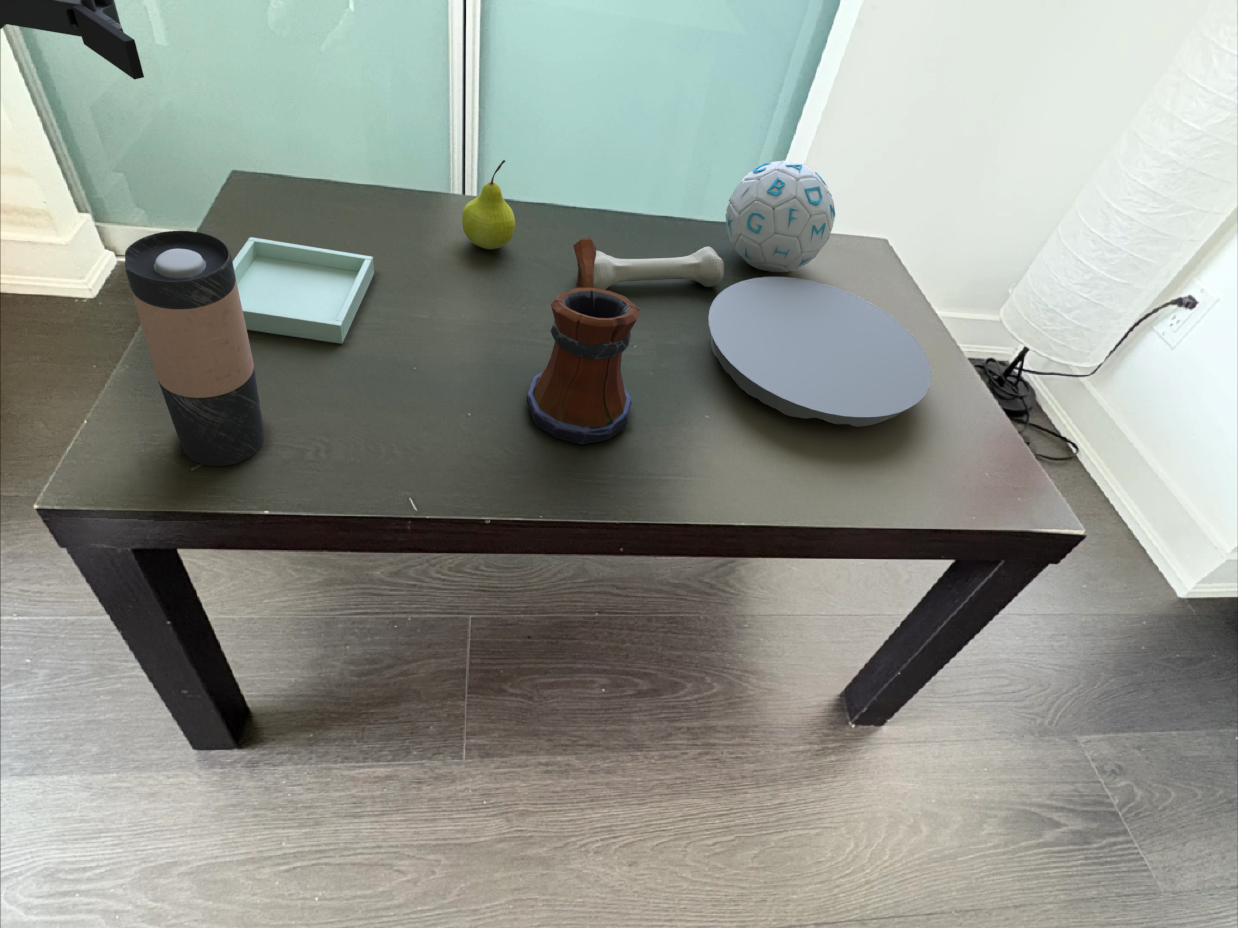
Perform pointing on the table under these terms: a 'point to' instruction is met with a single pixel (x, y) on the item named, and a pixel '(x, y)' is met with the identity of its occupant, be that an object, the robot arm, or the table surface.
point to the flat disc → (817, 351)
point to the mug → (585, 360)
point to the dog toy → (659, 268)
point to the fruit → (489, 218)
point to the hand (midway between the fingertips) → (37, 81)
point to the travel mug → (198, 343)
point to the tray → (300, 288)
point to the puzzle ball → (780, 216)
